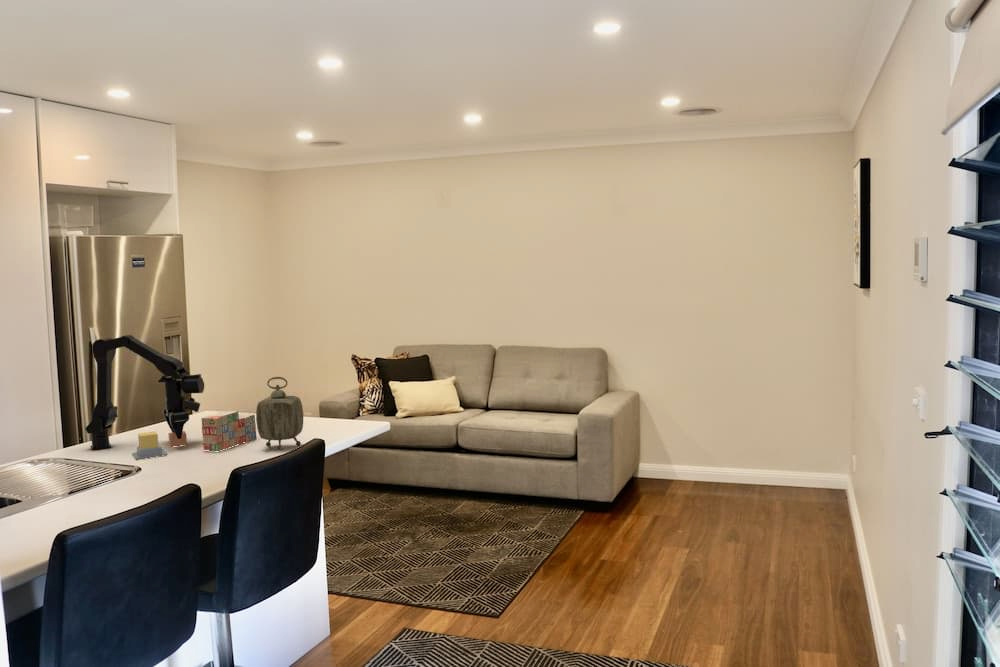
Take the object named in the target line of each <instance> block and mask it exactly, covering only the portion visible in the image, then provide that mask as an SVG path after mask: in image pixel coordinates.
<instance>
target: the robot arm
mask: <svg viewBox="0 0 1000 667" xmlns="http://www.w3.org/2000/svg"><path fill="white" fill-rule="evenodd" d="M91 345H92V346H91V351H92V356H93V358H94V361H95V362H96V404H95V406H94V408H93V411H92V414H91V416H92V417H91V421H90V422H89V424H88V425H87V426H85V427H84V428H85V431H86V434H90V438H91V439H90V440H91V445H90V449H91V451H95V450H96V451H97V450H103V449H110V448H112V444H111V443H110V437H109V436H110V434H109V430H110V429H112V427H113V424H114V423H115V422H116V420H117V418H118V417H119V416H118V406H116V405H115V406H114V404H113V402H112V364H113V361H114V358H115V356H116V353H117V349H120V348H126V349H128V350H129V351H131V352H133V353H134V354H136V355H137V356H139V357H141V358H143V359H144V360H146V361H148V362H150V363H151V364H153V365H154V367H155V368H156V370H157V371H159V372H160V373H161V374H162V376H161V378H160V379H159V380H158V381H157V383H164V393H165V396H164V400H165V404H166V405H165V406H163V407H162V409H161V410H162V415H163V417H164V419H165V421H166V423H167V425H168V427H169V429H170V431H171V433H173V432H175V434H176V436H177V438H178V439H181V437H182V432H183V431H184V426H185V424H186V423H187V422H189V420H190V414H189V413H188V412H187V411H188V410H189V411H192V412H193V411H194V412H195V413H198V412H199V410H200V407H201V403H200V402H198V401H196V399H195V398H194V397H191V396H190V397H188V398H187V399H186V397H185V396H183V395H184V394H203V392H204V391H205V381H204V379H203V378H202V374H201V373H197V374H190V373H189V372H188V371H187V370H186V369H185V367H184V366H183V362H182V361H181V360H180V359H178V358H176V357H174V356H171V355H166V354H164V353H161V352H159V351H158V350H156V349H154V348H152V346H151V347H150V346H149V345H148V344H146V343H144V342H142V341H141V340H140V339H137V338H136V337H135V336H133V335H131V334H125V335H122V336H120V337H116V338H112V337H105V338H104V337H103V338H98V339H96V340H95V341H94V342H93V343H92V344H91ZM183 392H184V394H183Z"/></svg>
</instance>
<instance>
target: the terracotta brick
mask: <svg viewBox="0 0 1000 667" xmlns="http://www.w3.org/2000/svg"><path fill="white" fill-rule="evenodd" d="M167 436H168V444H170V445H169V447H170V446H171V447H173V446H180V445H187V446H188V439H187V436H188V435H187V433H186V431H185V430H183V432H182V437H181V439H178V438H177V436H176V434H175V432H173V433H172V432H168V434H167ZM171 447H170V448H171ZM173 448H174V447H173Z"/></svg>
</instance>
